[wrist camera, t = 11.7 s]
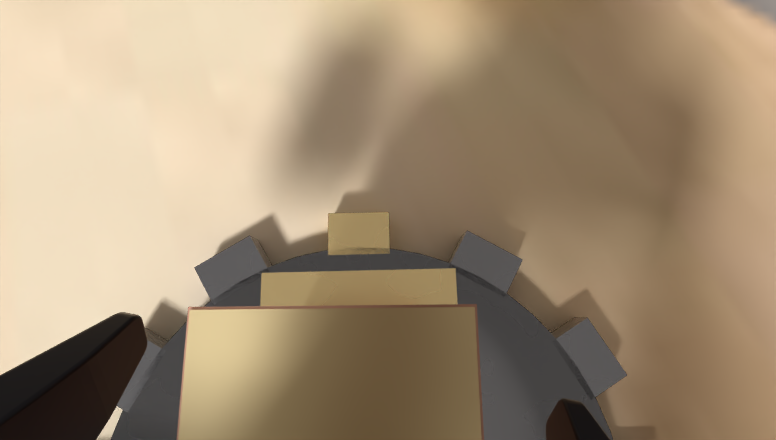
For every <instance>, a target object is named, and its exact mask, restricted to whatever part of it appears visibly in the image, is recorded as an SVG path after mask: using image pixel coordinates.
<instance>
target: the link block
mask: <svg viewBox="0 0 776 440" xmlns="http://www.w3.org/2000/svg"><path fill="white" fill-rule="evenodd" d="M177 440H484V429H483V410H482V392H481V373H480V354H479V336H478V317H477V304H436V305H336V306H236V307H188V316H187V328H186V339H185V350H184V361H183V372H182V384H181V395H180V406H179V417H178V428H177Z"/></svg>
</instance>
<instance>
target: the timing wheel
mask: <svg viewBox="0 0 776 440" xmlns="http://www.w3.org/2000/svg"><path fill="white" fill-rule="evenodd" d="M521 262H522V259H520V258H518V257H516V256H515V255H513V254H511V253H509V252H507V251H505V250H503V249H501V248H499V247H497V246H496V245H494V244H492V243H490V242H488V241H486V240H484V239H482V238H480V237H478V236H476V235H475V234H473V233H471V232H469V231H466V232H465V233H464V234H463V235H462V237H461V239H460V241H459V243H458V245H457V247H456V249H455V251H454V253H453V254H452V256H451V258H450V260H449V262H445V261H442V260H438V259H435V258H432V257H429V256H426V255H422V254H418V253H412V252H407V251H401V250H395V249H390V244H389V212H369V213H328V250H326V251H321V252H317V253H312V254H308V255H303V256H299V257H295V258H292V259H290V260H287V261H284V262H281V263H279V264H276V265H273V266H272V265H271V263H270V261H269V259H268V257H267V255H266V254H265V252H264V250H263V248H262V246H261V245H260V243H259V241H258V240H257V239H255V238H253V237H251V236H248V237H247V238H245V239H243V240H241V241H240V242H238V243H236V244H234V245H233V246H231V247H229V248H227V249H226V250H224V251H222V252H220V253H219V254H217V255H215V256H213V257H212V258H210V259H208V260H207V261H205V262H203V263H201V264H200V265H198V266H196V267H194V268H195V270H196V272H197V274H198V276H199V278H200V280H201V282H202V284H203V286H204V288H205V289H206V291H207V293H208V295H209V297H210V299H211V301H210V302H209V303H208V304H207V305H205V306H204V307H236V306H336V305H436V304H477V317H478V336H479V354H480V373H481V392H482V410H483V429H484V440H546V423H547V420H548V418H549V416H550V414H551V413H552V411H553V409H554V407H555V406H556V404H557V402H558V401H559V400H560V399H562V398H566V399H571V400H576V401H580V402H581V403H583V404H584V405H585V406H586V408H587V409H588V410H589V412H590V413H591V414H592V416H593V417H594V418H595V420H596V421H597V422H598V424H599V425H600V426H601V428H602V429H603V430H604V432H605V433H606V434H607V436H608V437H609V438H610V440H613V438H612V435H611V432H610V429H609V427H608V425H607V422H606V420H605V418H604V416H603V413H602V411H601V409H600V407H599V404H598V402H597V400H596V398H595V397H597V396H598V395H599V394H601V393H602V392H604V391H605V390H607V389H608V388H609V387H611V386H612V385H614V384H615V383H617V382H618V381H619V380H621V379H622V378H624V377H625V376H627V374H626V373H625V371H624V370H623V368H622V367H621V365H620V364H619V362H618V361H617V360H616V358H615V357H614V355H613V354H612V352H611V351H610V349H609V348H608V347H607V345H606V344H605V342H604V341H603V339H602V338H601V336H600V335H599V334H598V332H597V331H596V329H595V328H594V326H593V325H592V323H591V322H590V321H589V319H588V318H579V317H575V318H573V319H572V320H570V321H569V322H567V323H566V324H564V325H563V326H561V327H560V328H558V329H557V330H555V331H554V332H552V333H550V332H549V331H548V330H547V329H546V328H545V327H544V326H543V325H542V324H541V323H540V321H539V320H538V319H537V318H536V317H535V316H534V315H533V314H532V313H530V312H529V311H528V310H527V309H525V308H524V307H523V306H522V305H520V304H519V303H518V302H517V301H515V300H514V299H513V298H512V297H511V296H509V295H508V294H507V291H508V289H509V287H510V285H511V283H512V281H513V279H514V277H515V275H516V273H517V270H518V268H519V266H520V264H521ZM186 328H187V322H186V323H185V324H184V325H183V326H182V327H181V328H180V329H179V330H178V331H177V333H176V334H175V335H174V336H173V337H172V338H171V339H170V340H169V341H167V340H165V339H163V338H162V337H160V336H158V335H157V334H155V333H153V332H152V331H150V330H148V329H147V328H144V329H145V333H146V336H147V348H146V351H145V353H144V355H143V357H142V359H141V361H140V363H139V364H138V366H137V368H136V370H135V372H134V374H133V376H132V378H131V380H130V381H129V383H128V385H127V387H126V389H125V391H124V393H123V395H122V397H121V398H120V400H119V402H118V404H117V406H118V407H120V408H121V409H123V411H122V413H121V416H120V418H119V421H118V423H117V425H116V428H115V430H114V433H113V435H112V437H111V440H177V428H178V417H179V406H180V395H181V384H182V372H183V361H184V350H185V339H186Z"/></svg>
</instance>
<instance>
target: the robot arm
mask: <svg viewBox="0 0 776 440" xmlns="http://www.w3.org/2000/svg"><path fill="white" fill-rule="evenodd" d="M146 348H147V336H146V333H145V329H144V325H143V321H142V318H141V317H140V316H139V315H135V314H130V313H125V312H120V313H117V314H115V315H113V316H111V317H109V318H107V319H105V320H103V321H102V322H100V323H98V324H96V325H94V326H92V327H90V328H88V329H86V330H85V331H83V332H81V333H79V334H77V335H75V336H73V337H71V338H69V339H68V340H66V341H64V342H62V343H60V344H58V345H56V346H54V347H53V348H51V349H49V350H47V351H45V352H43V353H41V354H39V355H37V356H36V357H34V358H32V359H30V360H28V361H26V362H24V363H22V364H20V365H19V366H17V367H15V368H13V369H11V370H9V371H7V372H5V373H4V374H2V375H0V440H96V439H97V437H98V436H99V434H100V433H101V431H102V430H103V428H104V426H105V425H106V423H107V422H108V420H109V419H110V417H111V415H112V413H113V411H114V410H115V408H116V406H117V404H118V402H119V400H120V398H121V397H122V395H123V393H124V391H125V389H126V387H127V385H128V383H129V381H130V380H131V378H132V376H133V374H134V372H135V370H136V368H137V366H138V364H139V363H140V361H141V359H142V357H143V355H144V353H145V351H146ZM546 440H610V438H609V437H608V436H607V434H606V433H605V432H604V430H603V429H602V428H601V426H600V425H599V424H598V422H597V421H596V420H595V418H594V417H593V416H592V414H591V413H590V412H589V410H588V409H587V408H586V406H585V405H584V404H583V403H581V402H580V401H576V400H571V399H566V398H562V399H560V400H559V401H558V402H557V404H556V406H555V407H554V409H553V411H552V413H551V414H550V416H549V418H548V420H547V423H546Z"/></svg>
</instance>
